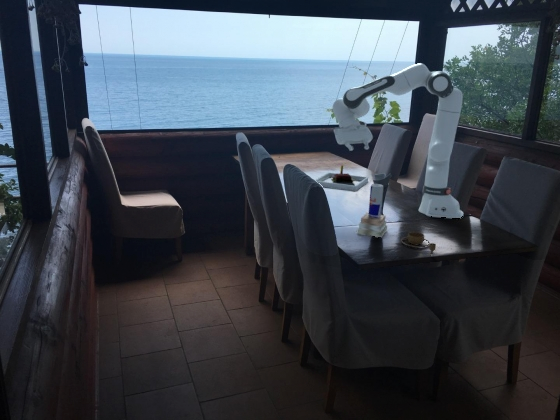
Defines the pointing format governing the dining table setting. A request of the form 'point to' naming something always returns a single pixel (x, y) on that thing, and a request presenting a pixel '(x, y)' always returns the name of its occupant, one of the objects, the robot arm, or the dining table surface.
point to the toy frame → (342, 186)
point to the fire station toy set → (342, 178)
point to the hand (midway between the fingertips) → (359, 149)
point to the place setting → (418, 240)
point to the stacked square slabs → (372, 226)
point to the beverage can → (375, 200)
